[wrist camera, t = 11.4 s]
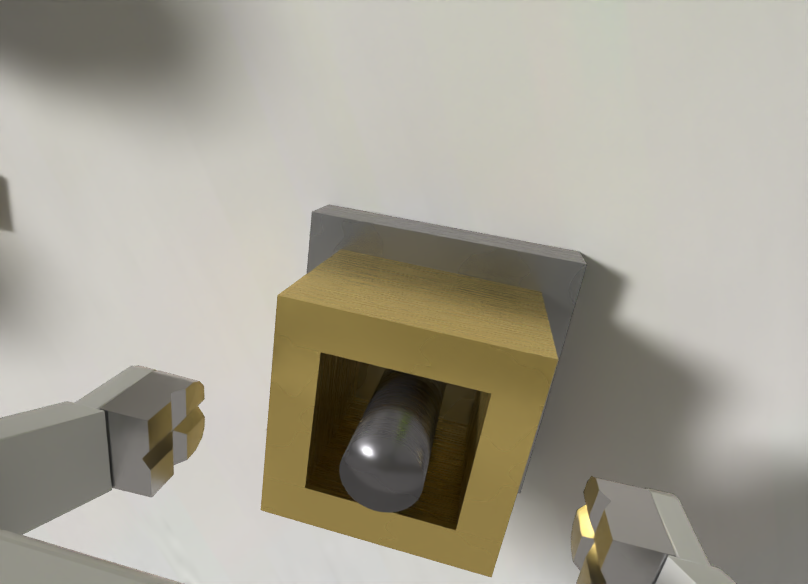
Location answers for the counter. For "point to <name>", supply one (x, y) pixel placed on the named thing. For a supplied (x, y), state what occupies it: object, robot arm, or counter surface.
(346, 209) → the grey peg stand
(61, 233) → the counter surface
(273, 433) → the end link
